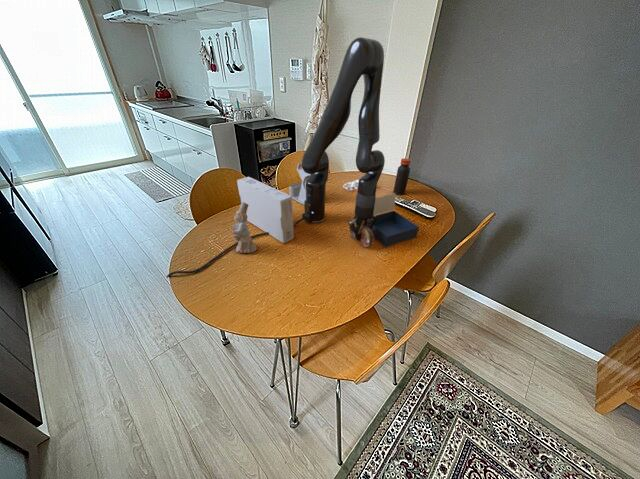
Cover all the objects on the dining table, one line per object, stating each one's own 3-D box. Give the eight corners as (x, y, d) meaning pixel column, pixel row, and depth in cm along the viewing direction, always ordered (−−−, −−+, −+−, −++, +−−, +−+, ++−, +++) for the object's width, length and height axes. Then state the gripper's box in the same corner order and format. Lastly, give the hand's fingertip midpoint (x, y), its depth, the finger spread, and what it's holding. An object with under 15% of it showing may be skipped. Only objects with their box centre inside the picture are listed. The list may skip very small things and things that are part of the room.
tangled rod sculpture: (348, 195, 152) (349, 189, 150) (340, 184, 163) (340, 178, 160) (378, 191, 157) (379, 185, 154) (367, 180, 167) (368, 175, 165)
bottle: (395, 189, 158) (402, 157, 147) (406, 192, 155) (413, 159, 144) (391, 193, 154) (397, 159, 142) (402, 196, 151) (409, 162, 139)
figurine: (256, 241, 110) (250, 199, 99) (257, 253, 104) (250, 209, 92) (235, 244, 109) (226, 201, 97) (234, 256, 102) (224, 212, 91)
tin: (348, 233, 117) (349, 217, 112) (354, 231, 118) (355, 215, 113) (368, 251, 106) (370, 234, 101) (374, 249, 107) (376, 232, 103)
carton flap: (364, 200, 114) (364, 199, 114) (364, 217, 117) (364, 217, 118) (395, 193, 121) (395, 192, 121) (394, 209, 124) (393, 209, 124)
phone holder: (287, 196, 148) (285, 165, 138) (301, 191, 154) (300, 161, 144) (306, 206, 138) (306, 174, 128) (320, 201, 144) (321, 169, 133)
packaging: (294, 237, 113) (292, 196, 102) (283, 243, 110) (280, 201, 98) (253, 214, 130) (248, 176, 119) (243, 218, 127) (236, 179, 115)
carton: (385, 247, 109) (387, 236, 106) (362, 228, 121) (364, 218, 118) (416, 236, 116) (419, 226, 113) (392, 220, 128) (394, 210, 125)
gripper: (373, 195, 107) (368, 230, 117) (345, 202, 102) (342, 238, 112) (385, 203, 102) (379, 239, 111) (355, 210, 96) (351, 247, 106)
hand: (360, 238), depth 111 cm, fingers closed on tin, 2 cm apart
